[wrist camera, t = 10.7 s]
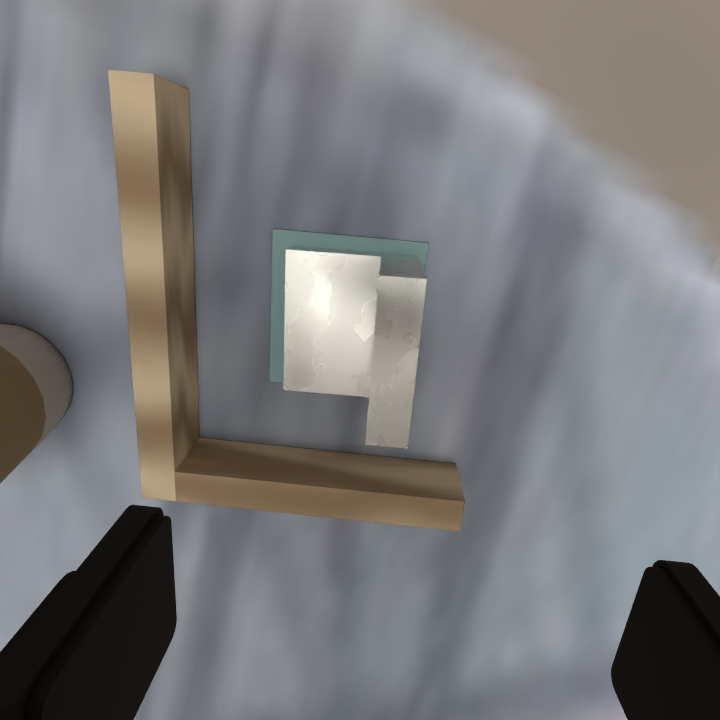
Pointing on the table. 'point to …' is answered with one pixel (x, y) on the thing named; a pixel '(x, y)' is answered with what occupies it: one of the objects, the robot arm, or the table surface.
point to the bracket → (356, 331)
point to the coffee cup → (29, 393)
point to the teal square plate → (327, 241)
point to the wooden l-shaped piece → (179, 354)
